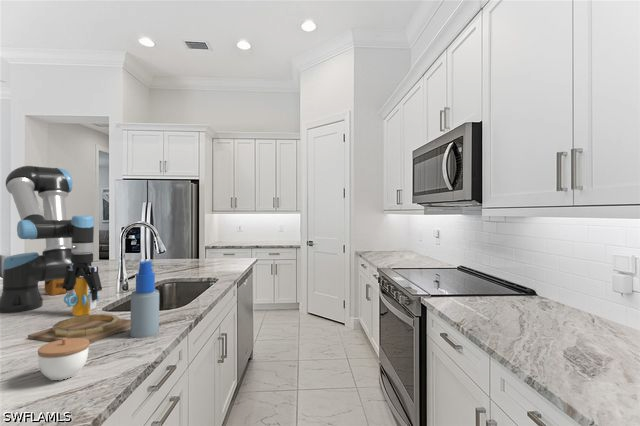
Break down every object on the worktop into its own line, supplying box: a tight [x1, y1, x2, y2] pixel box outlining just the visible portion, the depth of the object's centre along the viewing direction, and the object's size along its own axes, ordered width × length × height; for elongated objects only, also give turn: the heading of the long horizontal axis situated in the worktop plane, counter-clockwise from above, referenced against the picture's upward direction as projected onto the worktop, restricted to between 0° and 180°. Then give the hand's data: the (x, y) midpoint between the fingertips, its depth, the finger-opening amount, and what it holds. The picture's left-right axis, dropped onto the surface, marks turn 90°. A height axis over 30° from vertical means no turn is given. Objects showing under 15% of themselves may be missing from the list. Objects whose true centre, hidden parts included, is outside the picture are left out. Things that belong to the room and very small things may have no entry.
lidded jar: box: [37, 338, 90, 381], centre depth 90 cm, size 11×11×9 cm
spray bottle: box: [129, 260, 160, 339], centre depth 122 cm, size 9×9×25 cm
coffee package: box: [44, 279, 76, 296], centre depth 180 cm, size 10×12×22 cm
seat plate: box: [27, 318, 131, 345], centre depth 124 cm, size 23×23×1 cm
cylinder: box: [63, 276, 100, 317], centre depth 143 cm, size 12×10×15 cm
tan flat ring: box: [52, 313, 120, 337], centre depth 124 cm, size 19×19×2 cm
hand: (81, 307), depth 143 cm, fingers closed on cylinder, 10 cm apart
